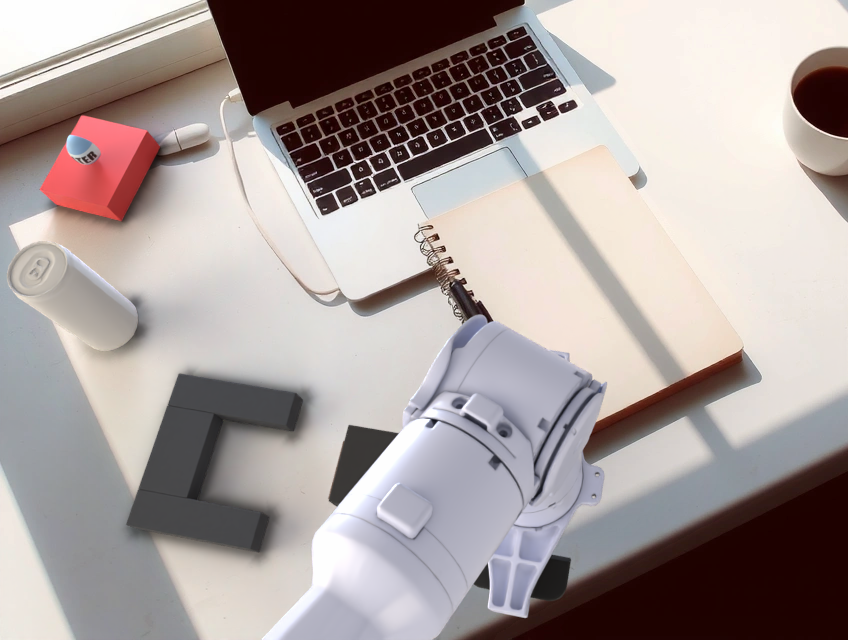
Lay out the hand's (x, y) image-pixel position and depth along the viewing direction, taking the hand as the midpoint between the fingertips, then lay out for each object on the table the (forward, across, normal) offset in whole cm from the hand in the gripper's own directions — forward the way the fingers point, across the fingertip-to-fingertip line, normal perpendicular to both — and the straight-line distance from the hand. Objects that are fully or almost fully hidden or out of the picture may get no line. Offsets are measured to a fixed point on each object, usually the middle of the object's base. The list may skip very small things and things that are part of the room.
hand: (539, 503), depth 59 cm
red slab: (+11, +24, +45) cm, 52 cm away
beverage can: (+11, +10, +39) cm, 42 cm away
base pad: (+10, 0, +26) cm, 28 cm away
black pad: (+1, 0, +9) cm, 9 cm away
